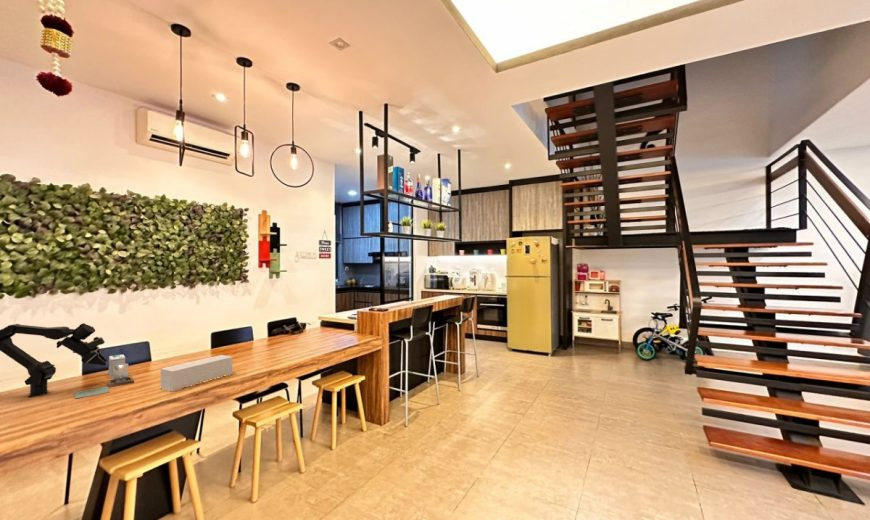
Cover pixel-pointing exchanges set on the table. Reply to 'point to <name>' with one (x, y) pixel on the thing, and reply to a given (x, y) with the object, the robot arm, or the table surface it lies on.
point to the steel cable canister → (120, 373)
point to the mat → (91, 392)
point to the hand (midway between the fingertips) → (105, 362)
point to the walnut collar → (120, 382)
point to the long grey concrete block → (195, 372)
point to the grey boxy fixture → (115, 363)
